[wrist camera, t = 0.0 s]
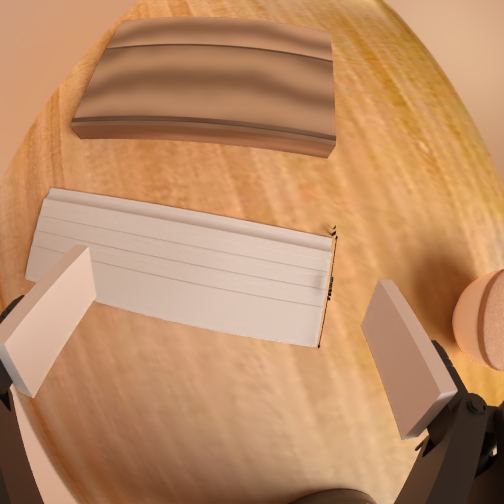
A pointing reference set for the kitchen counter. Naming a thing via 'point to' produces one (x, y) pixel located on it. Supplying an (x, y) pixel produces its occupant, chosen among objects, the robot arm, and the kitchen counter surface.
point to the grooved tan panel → (214, 85)
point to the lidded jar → (482, 321)
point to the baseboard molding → (190, 265)
